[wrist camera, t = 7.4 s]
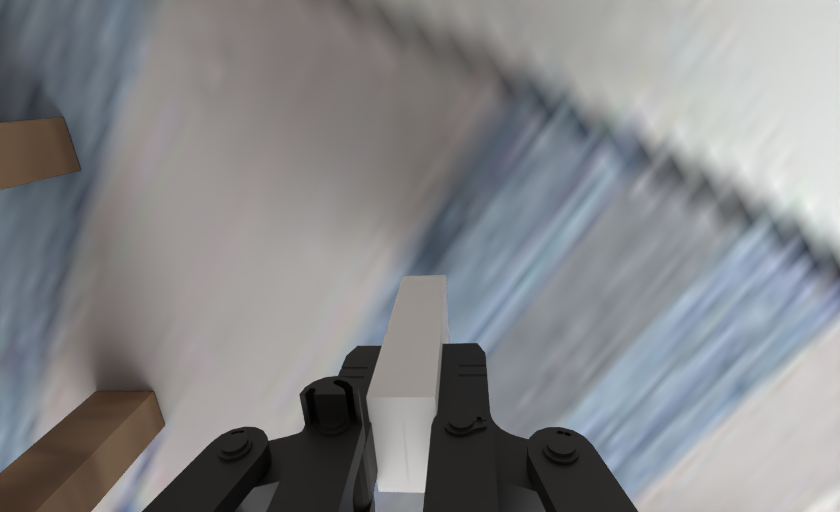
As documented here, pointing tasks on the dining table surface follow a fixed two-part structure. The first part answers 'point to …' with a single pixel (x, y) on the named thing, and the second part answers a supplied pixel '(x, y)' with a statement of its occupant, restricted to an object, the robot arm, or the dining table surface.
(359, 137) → the dining table surface
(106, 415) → the bridge
